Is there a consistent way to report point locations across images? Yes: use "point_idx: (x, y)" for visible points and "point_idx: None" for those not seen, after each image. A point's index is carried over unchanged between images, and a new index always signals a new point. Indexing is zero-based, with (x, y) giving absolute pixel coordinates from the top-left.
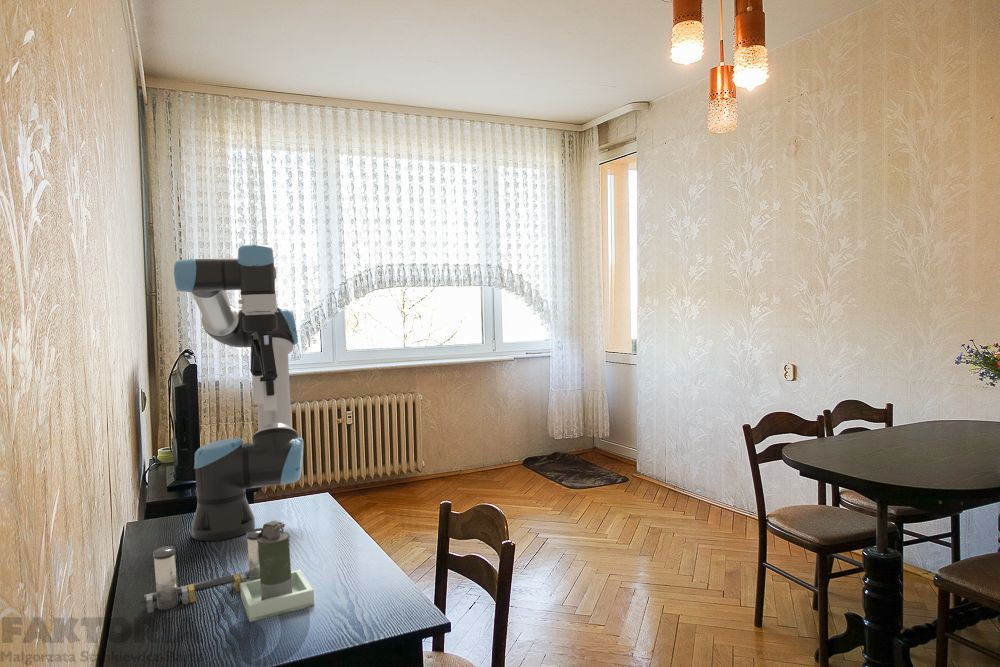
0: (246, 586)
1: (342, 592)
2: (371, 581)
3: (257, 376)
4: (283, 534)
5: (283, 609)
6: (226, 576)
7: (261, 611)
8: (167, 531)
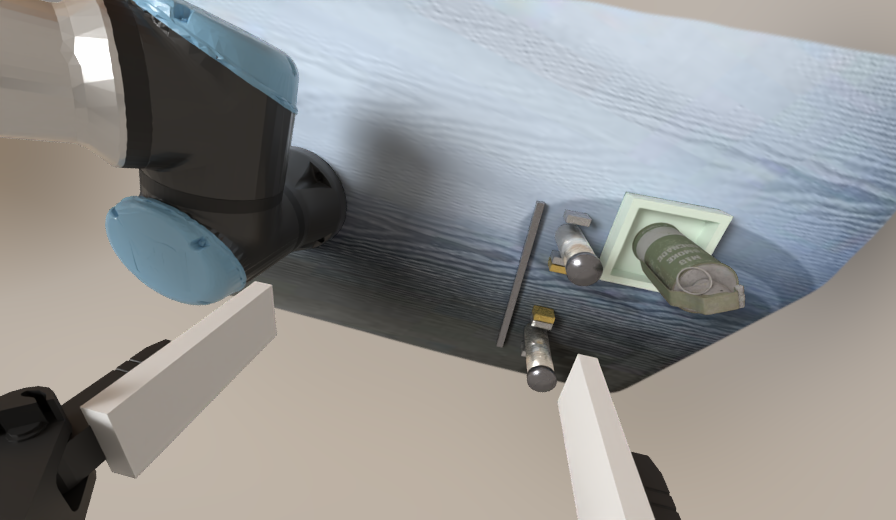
0: (619, 277)
1: (723, 156)
2: (739, 94)
3: (129, 454)
4: (708, 270)
5: None
6: (520, 266)
7: None
8: None
